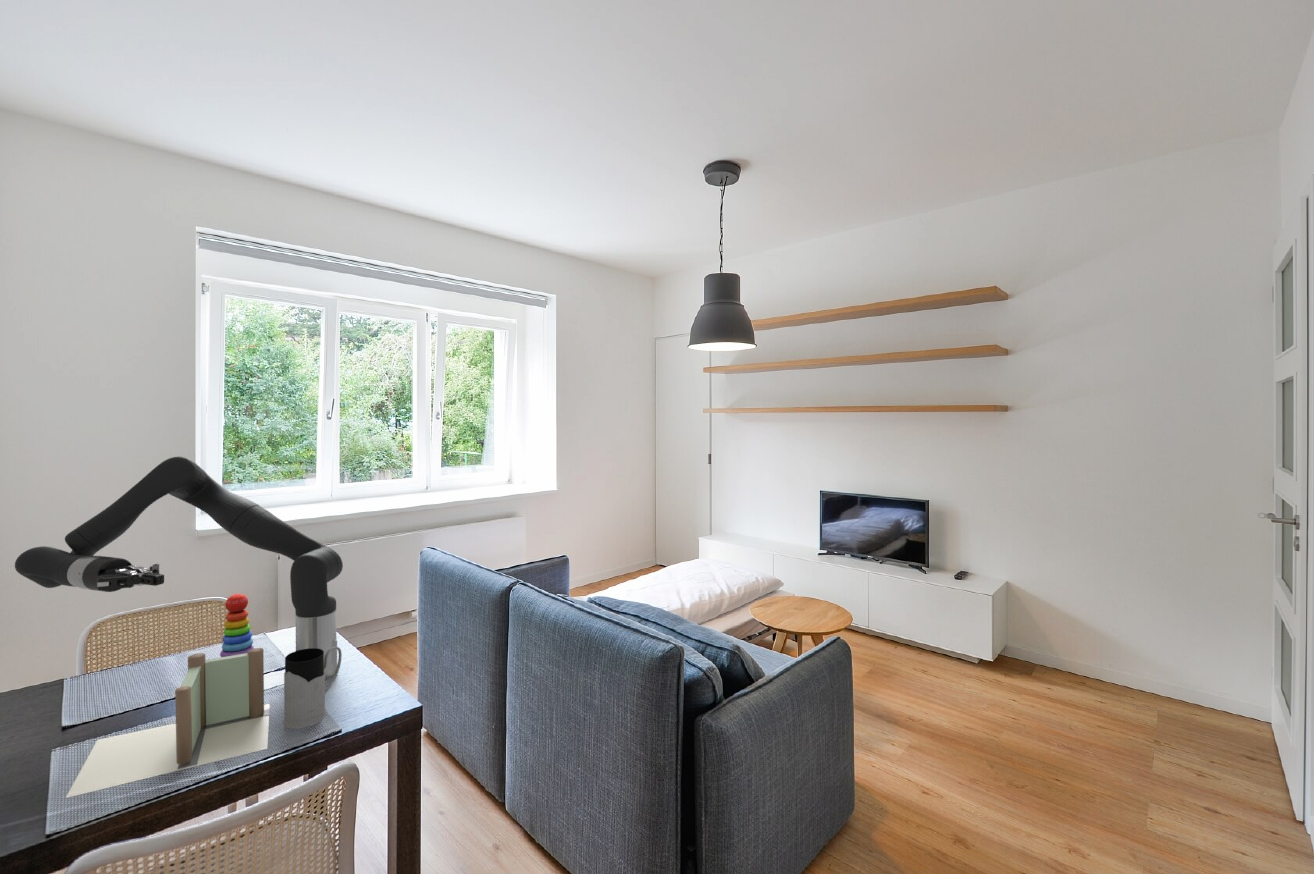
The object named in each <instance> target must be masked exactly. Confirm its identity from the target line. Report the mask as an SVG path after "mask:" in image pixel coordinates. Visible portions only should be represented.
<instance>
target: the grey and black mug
mask: <svg viewBox="0 0 1314 874" xmlns="http://www.w3.org/2000/svg"><path fill="white" fill-rule="evenodd" d="M335 648H337V654H338V657H337V668H336V671H335V673H334V676H333V677H331V679H330V681H329V683H328V684H327V686H326V687H325V685H326V683H325V681H326V680H325V673H324V670H325V669H326V667H327V659H328V655H329V653H330V652H331V651H332V650H333V649H335ZM342 656H343V655H342V650H341V648H340V647H339V646H337V647H332V648H330V649H329V650H328V651H327V653H326V655H325V658H324V651H323V650H322V649H318V648H308V649H302V650H298V651H296V650H295V651H293V652H290V653H288V654H287V655H286V656H285V658H284V665H285V666H284V673H283V682H284V685H283V686H284V687H283V689H284V690H283V691H284V693H283V694H284V697H283V698H284V700H283V701H284V709H283V710H284V718H283V722H282V725H283V726H284V727H285V728H287V729H288V728H289V729H301V728H306V727H307V728H308V727H310V726H312V725H315V724H316V725H317V724H318V723H320V722H321V721H323V720H324V719H325V718H326V716H327V711H326V694H327V693H328V691H329V689H330V688H331V686H332V685H333V683H334V682H335V680H336V678H337V676H338V673H339V671H340V667H341V663H342V658H343V657H342Z"/></svg>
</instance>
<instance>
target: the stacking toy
mask: <svg viewBox="0 0 1314 874" xmlns="http://www.w3.org/2000/svg"><path fill="white" fill-rule="evenodd" d="M248 604H249V599H248V597H247V596H246V595H245V594H242V593H235V594H231V595H230V596H229V597H228V598H227V599H226V601H225V603H224V605H225V609H226V610H227V611H228V613H226V614H225V619H226V620H225V622H224V624H223V626H224V629H223V634H224V636H223V637H222V642H223V643H222V644H221V648H222V649H221V650H220V653H219V655H220V658H221V657H227V656H232V655H238V654H244V653H247V652H248V651H249V650H251V649H255V648H254V645H253V644H254V639H253V638H252V636H253V633H252V631H250V630H251V625H250V624H249V622H250V619H249V618H248V615H249V612H248V610H246V608H247V607H248Z"/></svg>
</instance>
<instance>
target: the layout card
mask: <svg viewBox="0 0 1314 874" xmlns="http://www.w3.org/2000/svg"><path fill="white" fill-rule="evenodd" d="M270 708H271V704H270V703H267V704H265V703H264V714H263V715H262V716H260V717H257V718H249V717H248V716H247V717H242V718H238V719H233V720H229V721H224V722H219V723H215V724H210V725H206V727H205V728H203V729H201V730H200V732H199V735H198V738H197V741H196V744H195V746H194V749H193V752H192V760H191V761H189V762H187V763H184V764H177V761H176V722H175V723H171V724H166V725H162V726H157V727H153V728H152V727H151V728H148V729H143V730H138V731H134V732H128V733H123V734H119V735H114V736H110V737H104V738H100V739H97V740H96V742H95V744H94V746H93V747H92V749H91V751H90V753H89V754H88V756H87V758H86V760H85V762H84V763H83V765H82V767H81V769H80V770H79V772H78V775H77V777H76V778H75V780H74V782H73V784H72V785H71V788H70V789H69V791H68V793H67V795H66V796H65V799H68V798H72V797H76V796H80V795H84V794H89V793H93V792H97V791H101V790H104V789H105V790H106V789H109V788H113V787H116V786H121V785H125V784H130V783H134V782H138V781H142V780H146V779H150V778H154V777H159V776H162V775H167V774H171V773H175V772H178V771H183V770H186V769H191V768H195V767H199V766H202V765H203V766H204V765H207V764H211V763H216V762H219V761H223V760H228V759H232V758H236V757H240V756H244V755H248V754H252V753H256V752H260V751H263V750H265V751H266V750H268V743H269V727H270V726H269V724H270V710H271V709H270Z"/></svg>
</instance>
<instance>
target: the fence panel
mask: <svg viewBox="0 0 1314 874" xmlns="http://www.w3.org/2000/svg"><path fill="white" fill-rule="evenodd" d="M200 671H201V666H198V667H192V668H189V669H188V668H187V672H186V673H185V675H184V678H183V680H182V682H181V684H180V687H177V688H176V689H175V690H174V691H175V692H174V695H175V697H174V698H175V699H174V700H175V702H174V703H175V723H176V761H177V764H184V763H187V762H189V761H191V760H192V752H193V749H194V746H195V744H196V741H197V738H198V735H199V732H200V730H201V709H200Z"/></svg>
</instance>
